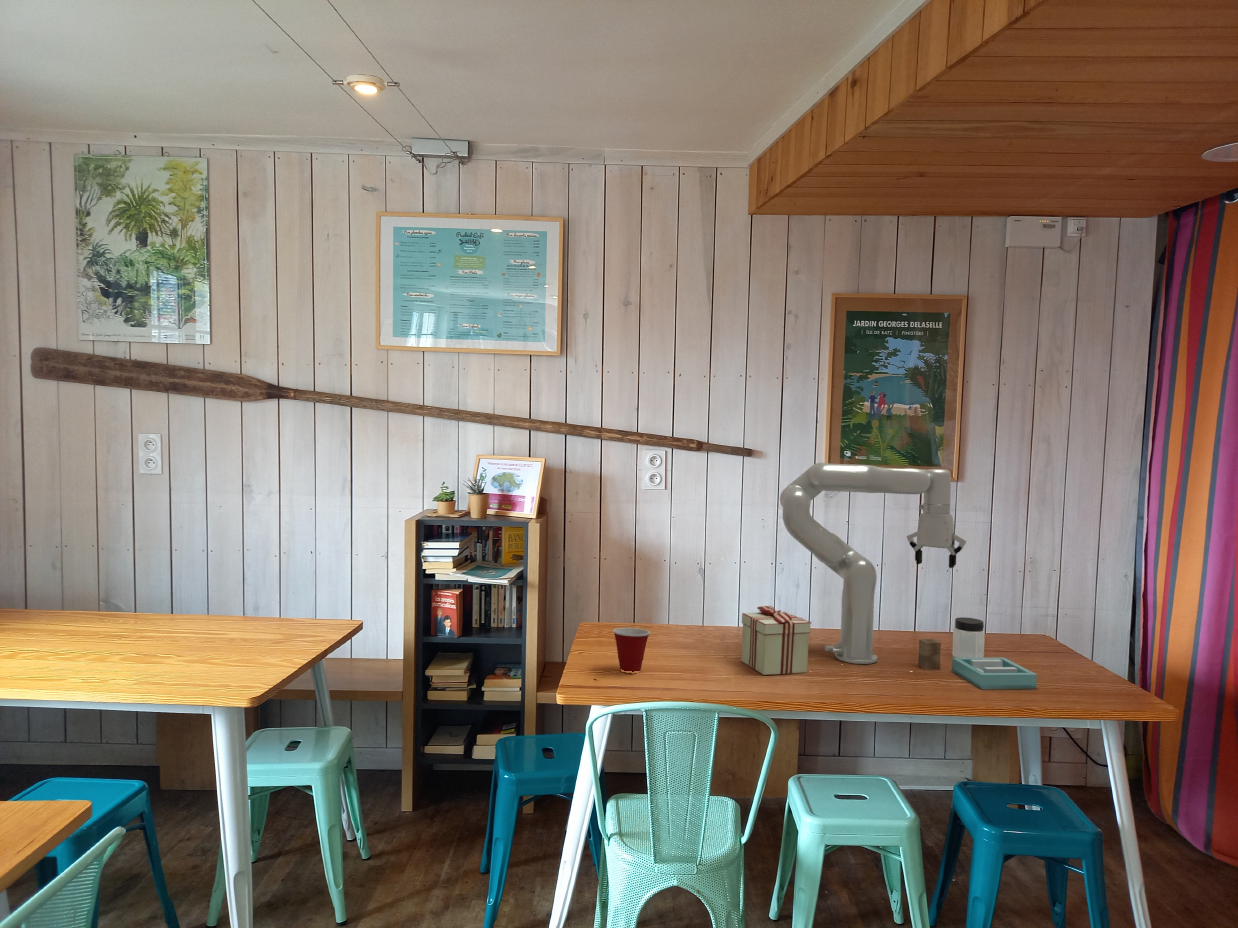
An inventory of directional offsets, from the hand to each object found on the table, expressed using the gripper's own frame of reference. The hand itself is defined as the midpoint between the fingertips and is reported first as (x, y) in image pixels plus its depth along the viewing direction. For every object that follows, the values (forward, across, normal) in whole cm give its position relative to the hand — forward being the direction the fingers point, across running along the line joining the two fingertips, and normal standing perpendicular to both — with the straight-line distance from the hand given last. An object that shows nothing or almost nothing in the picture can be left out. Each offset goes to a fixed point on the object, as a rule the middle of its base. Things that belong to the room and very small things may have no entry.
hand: (935, 565), depth 239 cm
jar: (+30, +7, +12) cm, 33 cm away
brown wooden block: (+30, +1, -6) cm, 30 cm away
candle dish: (+30, +19, -6) cm, 36 cm away
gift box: (+30, -33, -37) cm, 58 cm away
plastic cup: (+29, -62, -70) cm, 98 cm away
